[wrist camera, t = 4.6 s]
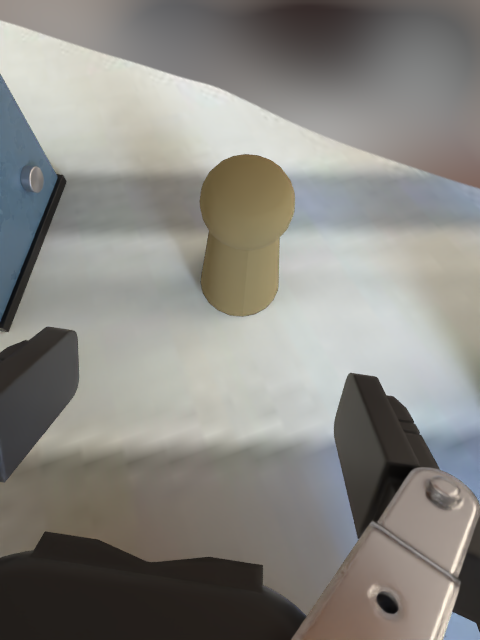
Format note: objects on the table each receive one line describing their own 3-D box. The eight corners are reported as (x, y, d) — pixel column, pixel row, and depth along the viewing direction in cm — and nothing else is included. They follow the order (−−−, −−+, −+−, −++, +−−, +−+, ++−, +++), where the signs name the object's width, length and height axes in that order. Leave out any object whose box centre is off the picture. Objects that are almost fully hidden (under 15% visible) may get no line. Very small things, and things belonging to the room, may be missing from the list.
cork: (212, 238, 31) (208, 125, 21) (285, 256, 31) (317, 149, 21) (190, 305, 29) (174, 214, 19) (269, 324, 29) (296, 243, 18)
